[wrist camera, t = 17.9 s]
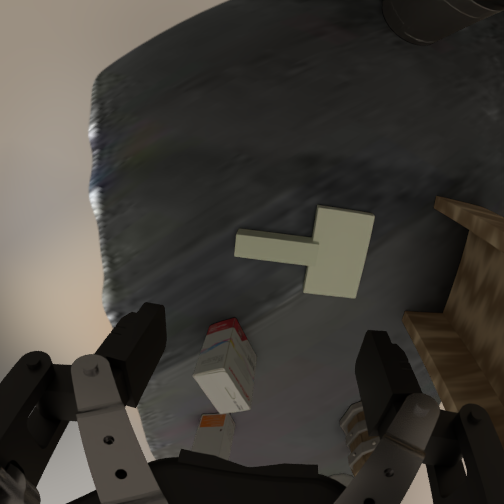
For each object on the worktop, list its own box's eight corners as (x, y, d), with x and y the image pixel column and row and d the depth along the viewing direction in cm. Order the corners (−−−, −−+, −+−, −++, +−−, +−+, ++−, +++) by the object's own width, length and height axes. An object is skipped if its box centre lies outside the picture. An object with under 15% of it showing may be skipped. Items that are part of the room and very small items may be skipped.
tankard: (359, 391, 51) (373, 457, 37) (413, 398, 51) (433, 456, 37) (317, 448, 58) (320, 504, 45) (366, 452, 59) (374, 504, 45)
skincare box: (228, 411, 56) (218, 460, 44) (236, 423, 57) (227, 471, 46) (200, 413, 57) (187, 460, 46) (208, 425, 58) (197, 471, 47)
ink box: (208, 324, 48) (189, 375, 37) (236, 316, 47) (223, 367, 36) (231, 364, 51) (219, 416, 40) (258, 357, 50) (251, 411, 39)
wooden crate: (436, 195, 38) (616, 314, 8) (482, 206, 37) (643, 313, 7) (401, 320, 45) (478, 498, 15) (446, 322, 44) (533, 475, 15)
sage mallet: (241, 195, 40) (239, 199, 38) (371, 213, 40) (376, 218, 37) (234, 278, 45) (231, 287, 43) (353, 293, 44) (356, 301, 42)
